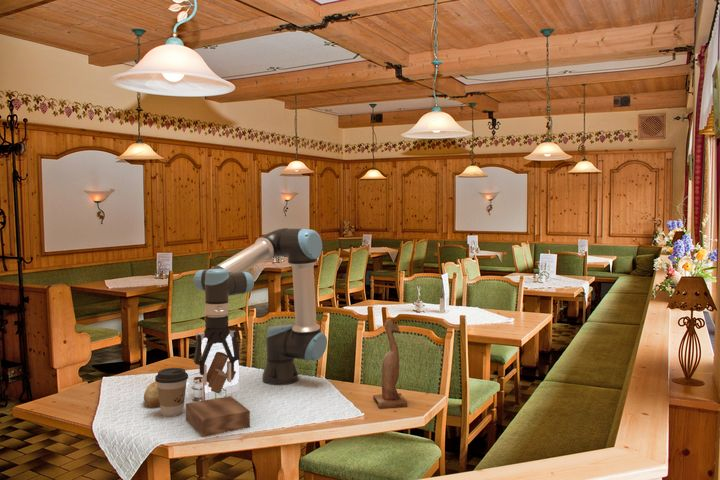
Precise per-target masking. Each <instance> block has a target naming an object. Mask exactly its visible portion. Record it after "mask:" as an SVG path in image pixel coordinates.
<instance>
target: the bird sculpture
mask: <svg viewBox="0 0 720 480" xmlns="http://www.w3.org/2000/svg"><path fill="white" fill-rule="evenodd" d="M383 326H384V330H385V333H386V335H387V339H388V343H389V351H387V352H386V353H385V355H384V357H383V359H382V365H381V366H382V367H381V394H373V395H372V400H376V401H377V405H378V409H380V408H381V409H387V408H388V409H390V408H393V409H395V408H404V407H405V408H407V406H408V400H407V399H406V398H405V397H404V396H403V394H402V393H401V392H398V390H397V388H396V384H397V383H398V381H399V377H400V353H399V347H398V345H397V342H396V340H395V336H394V333H399V334H400V327H399V326H398V325H397V324H396V323H394V322H393V320H392V319H391V318H389V319H387V320H386V321H385V322H384V325H383Z"/></svg>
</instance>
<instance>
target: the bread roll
mask: <svg viewBox="0 0 720 480" xmlns="http://www.w3.org/2000/svg"><path fill="white" fill-rule="evenodd" d="M143 402H144V404H145V405H146V406H147V407H148V408H157V407H160V401H159V394H158V387H157V382H156V381H153V382H151V383H150V384H149V385H148V386H147V387H146V389H145V391H144V394H143Z"/></svg>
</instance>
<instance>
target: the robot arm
mask: <svg viewBox="0 0 720 480" xmlns="http://www.w3.org/2000/svg"><path fill="white" fill-rule="evenodd" d="M254 241H255V242H254V243H253V244H251V245H250V246H248V247H246V248H244V249H242V250H241V251H240V252H238V253H236V254H234V255H232V256H231V257H229V258H227V259H225V260H223V261H222V262H221V263H219V264H216V265H215V266H212V267H211V268H210V269H200V270H198V271H196V272H195V274H194V276H193V284H194V287H195V288H196V289H197V290H199V291H204V292H205V293H204V295H205V296H204V297H205V299H204V300H205V301H204V302H205V303H204V304H205V305H204V307H205V308H204V309H205V310H204V311H205V313H204V314H205V315H206V316H205V317H204V318H205V320H204V321H205V322H204V323H205V329H204V331H203V332H201V333H196V334H195V339H196V344H195V351H194V356H193V363H195V365H198V366H199V375H200V376H202V385H204V386H208V382H207V372H208V369H207V368H208V367H207V364H206V362H207V359H208V356H209V353H210V352H211V348H212V347H213V345H214V344H221V345H222V346H223V349H224V351H225V354H226V355H227V356H228V360H227V361H226V371H227V374H228V376H227V379H226V381H227V382H228V383H232V380H231V372H233V371H235V363H236V361H239V360H240V352H239V345H238V339H237V338H238V331H236V330H230V329H229V316H228V314H229V297H230V296H235V295H240V294H241V295H244V294H246V293H249V292H251V291H253V288H254V286H255V279H254V277H253V275H252V274H251V273H250V272H248V271H249V270H250V269H252V268H253V267H255V266H257V265H258V264H260V263H262V262H263V261H269V260H272V259H273V258H278V257H284V258H287V263H288V265H289V266H291V267H292V268H291V269H292V271H291V272H292V286H293V287H292V288H293V304H294V305H293V306H294V307H293V308H294V319H295V321H294V323H295V324H290V323H289V324H280V325H279V324H278V325H273V326H270V327H267V328H268V329H267V331H266V337H265V339H266V340H265V341H266V363H265V366H264V369H263V373H262V378H261V381H263V383H265V384H269V385H279V386H280V385H289V384H294V383H296V382H298V380H299V371H298V369H297V365H296V361H295V359H297V360H303V361H306V362H309V361H311V362H317V361H318V360H320V359H321V358H322V357H323V355H324V354H325V353H326V350H327V346H328V339H327V336H326V334H325V333H323V332H321V325H320V324H318V323H317V309H316V308H317V307H316V306H317V305H316V292H315V290H316V287H315V271H314V266H315V264H317V262H318V258H320V256H321V254H322V251H323V242H322V237H321V236H320V235H319V233H318V232H317V231H316V230H314V229H309V228H308V229H307V228H288V227H285V228H283V227H282V228H277V229H275V230H273V231H270V232H268V233H266V234H264V235H262V236H261V237H259V238H256V240H254ZM228 336H230V337H231V342H232V343H231V345H232V351H233V354H232V351H231V349H230V347H229V345H228V341H227V338H228ZM204 337H205V338H206V339H207V340H206V344H205V346H204V350H203V352H202V354H201V351H202V343H203V340H204Z"/></svg>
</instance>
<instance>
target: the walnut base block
mask: <svg viewBox="0 0 720 480" xmlns="http://www.w3.org/2000/svg"><path fill="white" fill-rule="evenodd" d="M185 420H186V422H187V423H188V424H190V426H192V428H193V429H194V430H195V431H196V432H197V433H198V434H199V435H200V437H202V438H206V437H209V436H215V435H219V434H223V433H224V432H225V433H229V432H228V431H230V432H234V430H235V431H239V429H240V430H244V429H247V428H248V427H249V428H251V427H250V426H251V422H250V421H251V412H250V410H249V409H248V408H247V407H246V406H244V405H243V404H242V403H241V402H239V401H238V400H237V399H235V398H234V397H233V396H231V395H229V396H223V397H217V398H212V399H211V398H210V399H204V400H199V401H193V402H188V403H185ZM243 428H244V429H243Z"/></svg>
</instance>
